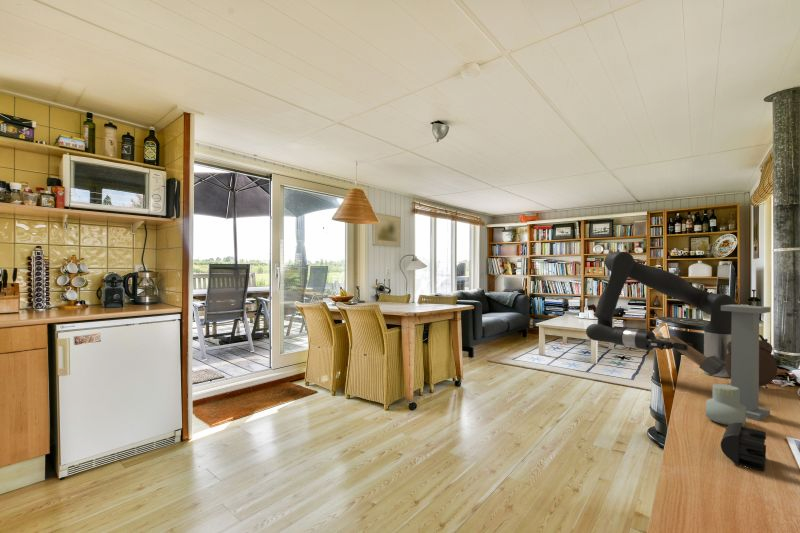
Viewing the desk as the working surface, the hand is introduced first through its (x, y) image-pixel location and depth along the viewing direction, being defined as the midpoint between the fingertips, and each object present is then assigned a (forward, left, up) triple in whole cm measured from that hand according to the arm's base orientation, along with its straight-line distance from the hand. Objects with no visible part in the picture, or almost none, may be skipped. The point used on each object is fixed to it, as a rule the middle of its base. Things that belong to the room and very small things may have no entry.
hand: (689, 347), depth 137 cm
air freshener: (+25, +19, -15) cm, 35 cm away
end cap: (+48, +30, -16) cm, 59 cm away
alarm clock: (-24, +10, -15) cm, 30 cm away
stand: (+11, +19, -15) cm, 27 cm away
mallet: (0, 0, -4) cm, 4 cm away
